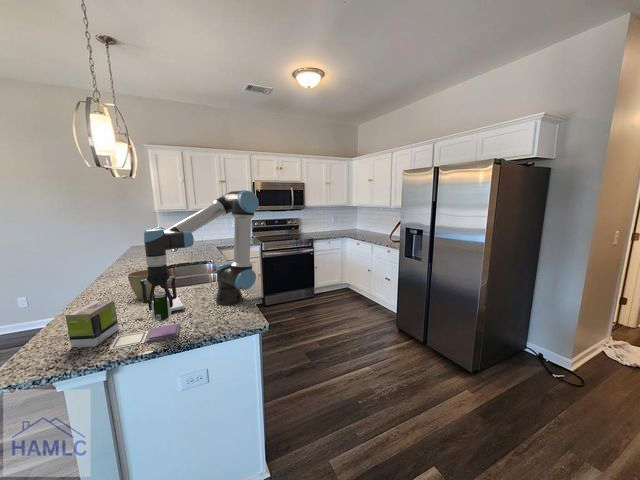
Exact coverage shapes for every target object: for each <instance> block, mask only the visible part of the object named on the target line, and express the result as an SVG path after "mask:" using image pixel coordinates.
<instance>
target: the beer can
mask: <svg viewBox="0 0 640 480" xmlns="http://www.w3.org/2000/svg"><path fill="white" fill-rule="evenodd" d="M167 298H168V297H167V295H166V292H165V291H160V292H159V291H158V292H154V295H153V299H152V301H154V311H155V318H154V319H155V321H156V322H160V323H161V322H165V321H167V320H169V318H170V315H168V305H167V301H168V300H167Z"/></svg>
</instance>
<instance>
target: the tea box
mask: <svg viewBox="0 0 640 480" xmlns="http://www.w3.org/2000/svg"><path fill="white" fill-rule="evenodd" d="M64 317H65V320H66V327H67V332H68V336H69V342H70V343H69V344H70V347H71V348H72V347H77V348H93V347H94V348H95V347H97V346H99V344H100V343H102V342H104V341H105V340H107V339H108V338H109V337H110V336H112V335H114V333H116V332H118V331H119V330H120V327H119V322H118V315H117V309H116V302H115V300H102V301H101V300H99V301H91V302H88V303H87V304H85V305H83V306H81V307H80V308H76V309H75V310H73V311H72V312H70V313H67V314H65V316H64Z"/></svg>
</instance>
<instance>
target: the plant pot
mask: <svg viewBox="0 0 640 480" xmlns="http://www.w3.org/2000/svg"><path fill="white" fill-rule="evenodd" d="M126 276H127V278H128V279H127V280H128V282H129V285H130V287H131V289H132V292H133V293H134V295H135V297H136V298H137V299H138V300H143V293H142V285H141V284H140V282H141V280H145V279H147V277H148V272H147V269H141V270H136V271H132V272H129V273H127V275H126ZM146 287H147V299H149V296H150V292H151V287H152V284H151V283H149V282H148V281H147V284H146Z"/></svg>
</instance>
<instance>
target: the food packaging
mask: <svg viewBox="0 0 640 480" xmlns="http://www.w3.org/2000/svg"><path fill="white" fill-rule="evenodd" d="M167 300H169V299H168V297H167ZM152 302H154V301H153V300H152ZM184 309H185V306H184V304H183V303H182V301H181V299H180V297H179V296H177V297H176V299H173V307H171V312H176V311H180V310H184ZM149 311H150V315H151V318H153V315H152V310H149Z"/></svg>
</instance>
